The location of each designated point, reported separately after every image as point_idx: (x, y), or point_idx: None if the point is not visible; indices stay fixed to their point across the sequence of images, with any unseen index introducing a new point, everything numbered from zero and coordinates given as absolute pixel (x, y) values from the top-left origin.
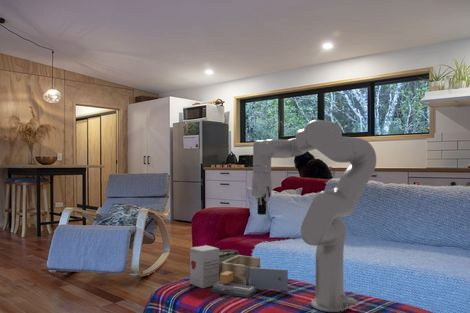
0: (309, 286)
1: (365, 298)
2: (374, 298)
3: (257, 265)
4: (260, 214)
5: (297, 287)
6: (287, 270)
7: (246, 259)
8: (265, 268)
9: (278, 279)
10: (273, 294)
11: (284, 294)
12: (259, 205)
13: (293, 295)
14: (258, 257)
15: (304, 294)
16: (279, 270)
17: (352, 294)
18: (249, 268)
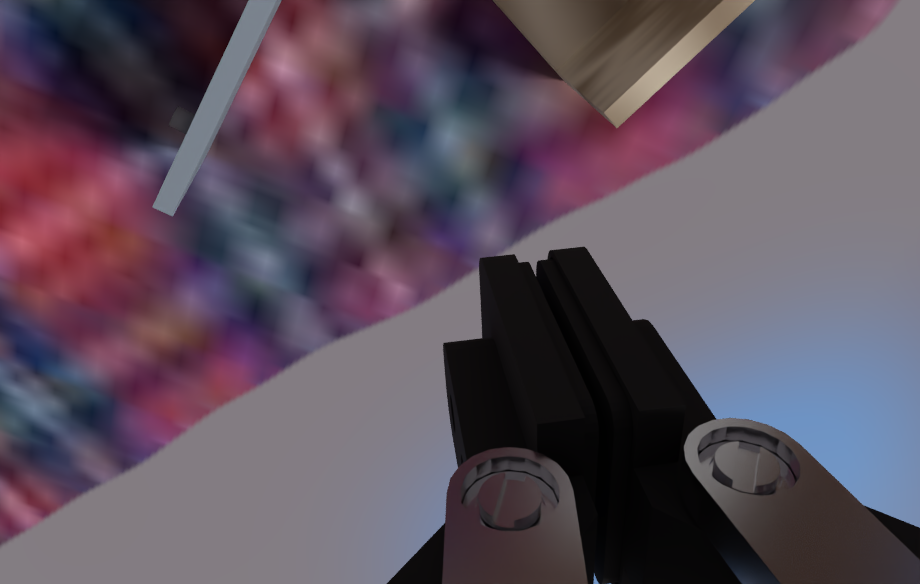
0: (287, 324)
1: (20, 494)
2: (19, 527)
3: (596, 81)
4: (480, 285)
5: (282, 249)
6: (153, 206)
7: (703, 2)
8: (246, 34)
9: (177, 107)
10: (148, 22)
11: (138, 104)
12: (532, 419)
13: (108, 156)
14: (630, 114)
15: (123, 232)
16: (181, 145)
17: (96, 467)
18: (645, 14)
